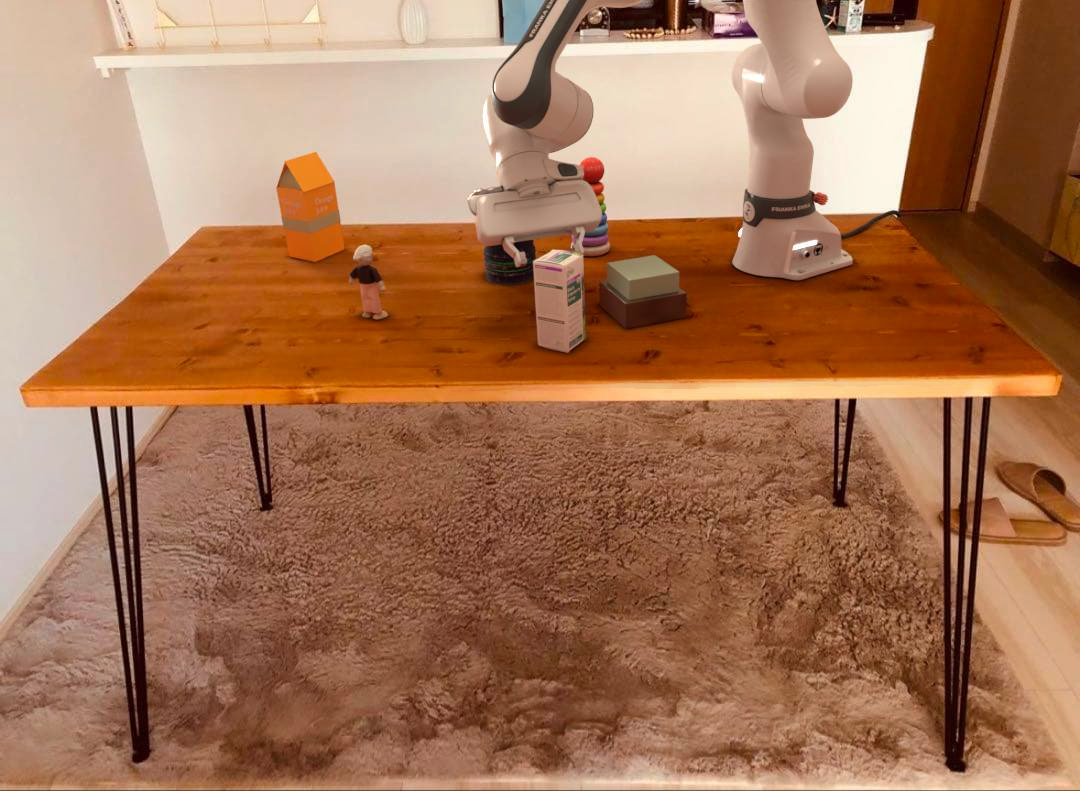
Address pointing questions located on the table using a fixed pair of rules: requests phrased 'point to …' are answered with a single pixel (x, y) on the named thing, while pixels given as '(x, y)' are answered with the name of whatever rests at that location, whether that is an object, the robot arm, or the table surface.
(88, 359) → the table surface
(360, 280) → the grandmother figurine
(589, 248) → the stacking toy
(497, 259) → the dark blue cylinder
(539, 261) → the syrup box
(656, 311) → the base block
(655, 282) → the top block
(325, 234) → the orange juice
